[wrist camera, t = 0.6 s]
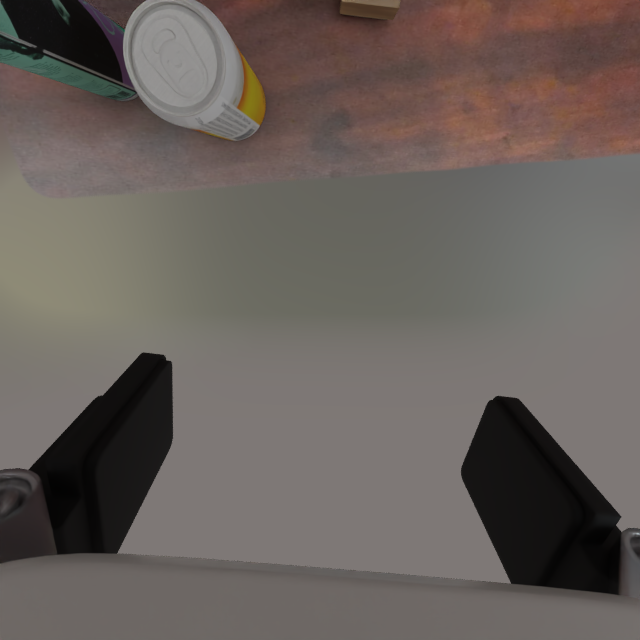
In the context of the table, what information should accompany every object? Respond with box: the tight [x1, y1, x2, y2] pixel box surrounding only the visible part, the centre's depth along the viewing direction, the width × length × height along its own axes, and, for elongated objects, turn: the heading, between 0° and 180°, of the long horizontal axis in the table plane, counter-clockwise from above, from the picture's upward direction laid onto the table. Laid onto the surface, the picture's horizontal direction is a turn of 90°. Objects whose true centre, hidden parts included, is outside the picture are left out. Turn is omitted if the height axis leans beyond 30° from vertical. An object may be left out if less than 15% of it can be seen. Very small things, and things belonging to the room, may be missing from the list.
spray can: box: [0, 0, 139, 101], centre depth 22 cm, size 6×6×20 cm
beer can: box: [123, 0, 266, 141], centre depth 26 cm, size 6×6×15 cm
